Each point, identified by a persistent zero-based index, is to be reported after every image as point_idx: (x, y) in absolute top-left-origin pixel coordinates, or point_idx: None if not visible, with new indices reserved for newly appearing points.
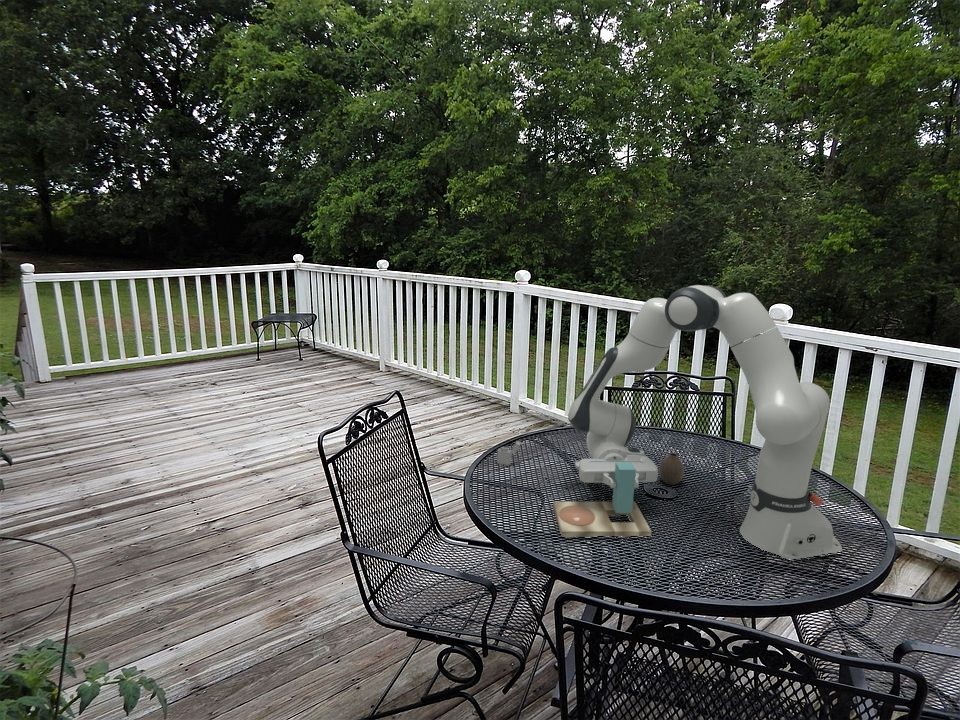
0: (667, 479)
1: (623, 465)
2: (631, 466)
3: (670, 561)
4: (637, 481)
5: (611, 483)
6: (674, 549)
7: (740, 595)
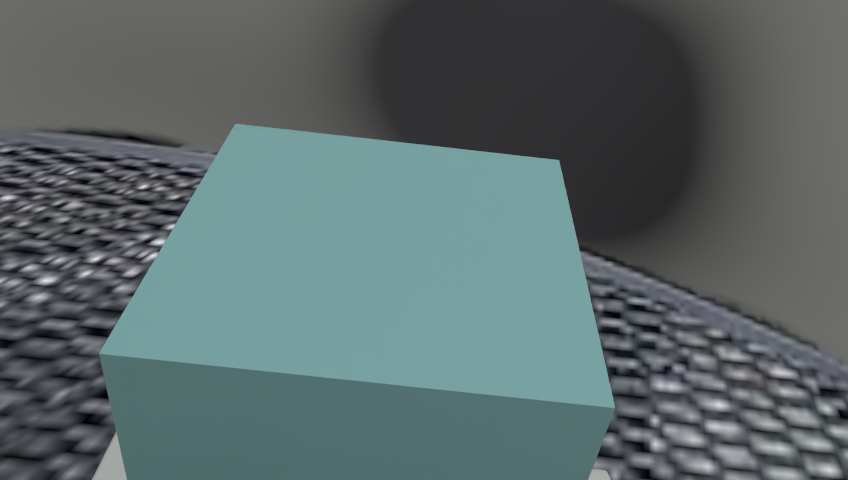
0: None
1: (429, 251)
2: (254, 199)
3: None
4: None
5: (602, 471)
6: (101, 404)
7: (72, 162)
